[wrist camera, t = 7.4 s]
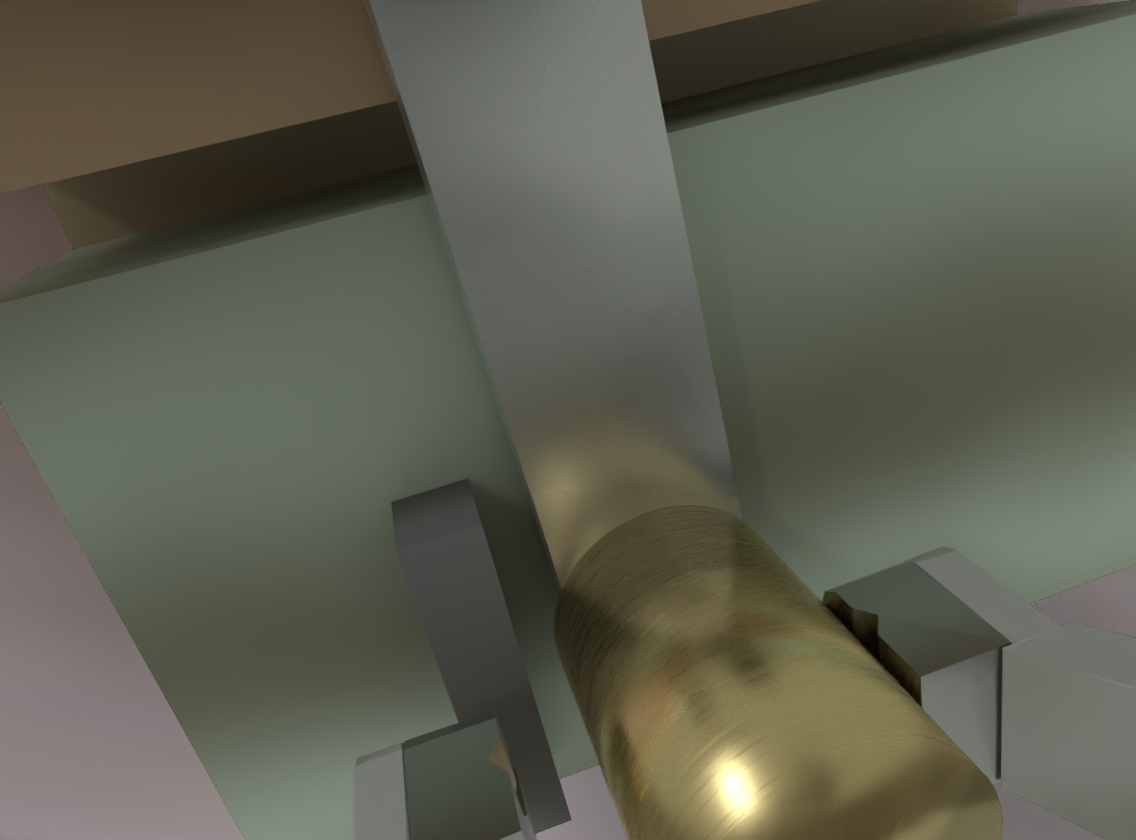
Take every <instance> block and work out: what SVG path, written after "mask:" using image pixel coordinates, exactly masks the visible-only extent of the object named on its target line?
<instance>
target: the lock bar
mask: <svg viewBox="0 0 1136 840" xmlns="http://www.w3.org/2000/svg"><path fill="white" fill-rule="evenodd" d="M364 4H365V7H366V10H367V13H368V16H369V19H370V22H371V25H372V28H373V31H374V34H375V37H376V40H377V43H378V46H379V49H380V52H381V55H382V58H383V61H384V64H385V67H386V70H387V73H388V76H389V79H390V82H391V85H392V88H393V91H394V95H395V98H396V101H397V104H398V107H399V110H400V113H401V116H402V119H403V122H404V125H405V128H406V131H407V134H408V137H409V140H410V143H411V146H412V149H413V152H414V155H415V158H416V161H417V164H418V167H419V170H420V173H421V176H422V179H423V182H424V185H425V189H426V192H427V195H428V198H429V201H430V204H431V207H432V210H433V213H434V216H435V219H436V222H437V225H438V228H439V231H440V234H441V237H442V240H443V243H444V246H445V249H446V252H447V255H448V258H449V261H450V264H451V267H452V270H453V273H454V276H455V280H456V283H457V286H458V289H459V292H460V295H461V298H462V301H463V304H464V307H465V310H466V313H467V316H468V319H469V322H470V325H471V328H472V331H473V334H474V337H475V340H476V343H477V346H478V349H479V352H480V355H481V358H482V361H483V364H484V367H485V371H486V374H487V377H488V380H489V383H490V386H491V389H492V392H493V395H494V398H495V401H496V404H497V407H498V410H499V413H500V416H501V419H502V422H503V425H504V428H505V431H506V434H507V437H508V440H509V443H510V446H511V449H512V452H513V455H514V458H515V461H516V465H517V468H518V471H519V474H520V477H521V480H522V483H523V486H524V489H525V492H526V495H527V498H528V501H529V504H530V507H531V510H532V513H533V516H534V519H535V522H536V525H537V528H538V531H539V534H540V537H541V540H542V543H543V546H544V549H545V552H546V556H547V559H548V562H549V565H550V568H551V571H552V574H553V577H554V580H555V583H556V586H557V589H558V592H559V595H560V596H559V599H558V601H557V606H556V610H555V615H554V639H555V645H556V649H557V653H558V656H559V658H560V661H561V664H562V666H563V669H564V672H565V674H566V677H567V680H568V682H569V685H570V688H571V690H572V693H573V695H574V698H575V701H576V703H577V706H578V709H579V711H580V714H581V717H582V719H583V722H584V725H585V727H586V730H587V733H588V735H589V738H590V741H591V743H592V746H593V749H594V751H595V754H596V757H597V759H598V762H599V765H600V767H601V770H602V772H603V775H604V778H605V780H606V783H607V786H608V788H609V791H610V794H611V796H612V799H613V802H614V804H615V807H616V810H617V812H618V815H619V818H620V820H621V823H622V826H623V828H624V831H625V834H626V836H627V839H628V840H1001V836H1002V812H1001V805H1000V802H999V799H998V796H997V793H996V790H995V788H994V787H993V785H992V783H991V782H990V780H989V778H988V777H987V776H986V775H985V774H984V773H983V772H982V771H981V770H980V769H979V768H978V767H977V766H976V764H975V763H974V762H973V761H972V760H971V759H970V758H969V757H968V756H967V755H966V754H965V753H964V752H963V751H962V750H961V749H960V747H959V746H958V745H957V744H956V743H955V742H954V741H953V740H952V739H951V738H950V737H949V736H948V735H947V734H946V733H945V732H944V730H943V729H942V728H941V727H940V726H939V725H938V724H937V723H936V722H935V721H934V720H933V719H932V718H931V717H930V716H929V715H928V714H927V712H926V711H925V710H924V709H923V708H922V707H921V706H920V705H919V704H918V703H917V702H916V701H915V700H914V699H913V698H912V697H911V695H910V694H909V693H908V692H907V691H906V690H905V689H904V688H903V687H902V686H901V685H900V684H899V683H898V682H897V681H896V680H895V678H894V677H893V676H892V675H891V674H890V673H889V672H888V671H887V670H886V669H885V668H884V667H883V666H882V665H881V664H880V663H879V661H878V660H877V659H876V658H875V657H874V656H873V655H872V654H871V653H870V652H869V651H868V650H867V649H866V648H865V647H864V646H863V644H862V643H861V642H860V641H859V640H858V639H857V638H856V637H855V636H854V635H853V634H852V633H851V632H850V631H849V630H848V629H847V628H846V626H845V625H844V624H843V623H842V622H841V621H840V620H839V619H838V618H837V617H836V616H835V615H834V614H833V613H832V612H831V611H830V609H829V608H828V607H827V606H826V605H825V604H824V603H823V602H822V601H821V600H820V599H819V598H818V597H817V596H816V595H815V594H814V592H813V591H812V590H811V589H810V588H809V587H808V586H807V585H806V584H805V583H804V582H803V581H802V580H801V579H800V578H799V577H798V575H797V574H796V573H795V572H794V571H793V570H792V569H791V568H790V567H789V566H788V565H787V564H786V563H785V562H784V561H783V560H782V558H781V557H780V556H779V555H778V554H777V553H776V552H775V551H774V550H773V549H772V548H771V547H770V546H769V545H768V544H767V543H766V541H765V540H764V539H763V538H762V537H761V536H760V535H759V534H758V533H757V532H756V531H755V530H754V529H753V528H752V527H751V526H750V525H749V524H747V523H746V522H745V521H743V519H742V514H741V508H740V503H739V498H738V493H737V488H736V483H735V478H734V473H733V468H732V463H731V457H730V452H729V447H728V442H727V437H726V432H725V427H724V422H723V417H722V412H721V406H720V401H719V396H718V391H717V386H716V381H715V376H714V371H713V366H712V361H711V356H710V350H709V345H708V340H707V335H706V330H705V325H704V320H703V315H702V310H701V305H700V299H699V294H698V289H697V284H696V279H695V274H694V269H693V264H692V259H691V254H690V248H689V243H688V238H687V233H686V228H685V223H684V218H683V213H682V208H681V203H680V197H679V192H678V187H677V182H676V177H675V172H674V167H673V162H672V157H671V152H670V146H669V141H668V136H667V131H666V126H665V121H664V116H663V111H662V106H661V101H660V96H659V90H658V85H657V80H656V75H655V70H654V65H653V60H652V55H651V50H650V45H649V39H648V34H647V29H646V24H645V19H644V14H643V9H642V4H641V0H364Z"/></svg>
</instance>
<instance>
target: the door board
mask: <svg viewBox="0 0 1136 840" xmlns="http://www.w3.org/2000/svg"><path fill="white" fill-rule="evenodd" d="M641 4H642V9H643V14H644V19H645V24H646V29H647V34H648V39H649V45H650V50H651V55H652V60H653V65H654V70H655V75H656V80H657V85H658V90H659V96H660V101H661V106H662V111H663V116H664V121H665V126H666V131H667V136H668V141H669V146H670V152H671V157H672V162H673V167H674V172H675V177H676V182H677V187H678V192H679V197H680V203H681V208H682V213H683V218H684V223H685V228H686V233H687V238H688V243H689V248H690V254H691V259H692V264H693V269H694V274H695V279H696V284H697V289H698V294H699V299H700V305H701V310H702V315H703V320H704V325H705V330H706V335H707V340H708V345H709V350H710V356H711V361H712V366H713V371H714V376H715V381H716V386H717V391H718V396H719V401H720V406H721V412H722V417H723V422H724V427H725V432H726V437H727V442H728V447H729V452H730V457H731V463H732V468H733V473H734V478H735V483H736V488H737V493H738V498H739V503H740V508H741V514H742V519H743V521H745V522H746V523H747V524H749V525H750V526H751V527H752V528H753V529H754V530H755V531H756V532H757V533H758V534H759V535H760V536H761V537H762V538H763V539H764V540H765V541H766V543H767V544H768V545H769V546H770V547H771V548H772V549H773V550H774V551H775V552H776V553H777V554H778V555H779V556H780V557H781V558H782V560H783V561H784V562H785V563H786V564H787V565H788V566H789V567H790V568H791V569H792V570H793V571H794V572H795V573H796V574H797V575H798V577H799V578H800V579H801V580H802V581H803V582H804V583H805V584H806V585H807V586H808V587H809V588H810V589H811V590H812V591H813V592H814V594H815V595H816V596H817V597H818V598H819V599H820V600H821V601H822V600H823V596H824V592H825V591H827V590H829V589H832V588H835V587H837V586H840V585H843V584H845V583H848V582H851V581H854V580H856V579H859V578H862V577H864V576H867V575H870V574H872V573H875V572H878V571H881V570H883V569H886V568H889V567H891V566H894V565H897V564H901V563H903V562H904V561H906V560H908V559H911V558H913V557H916V556H919V555H921V554H924V553H927V552H929V551H932V550H934V549H937V548H940V547H942V546H944V547H948V548H952V549H955V550H956V551H958V552H959V553H960V554H962V555H963V556H965V557H966V558H967V559H969V560H970V561H971V562H973V563H974V564H976V565H977V566H978V567H980V568H981V569H982V570H984V571H985V572H986V573H988V574H989V575H991V576H992V577H993V578H995V579H996V580H997V581H999V582H1000V583H1002V584H1003V585H1004V586H1006V587H1007V588H1008V589H1010V590H1011V591H1013V592H1014V593H1015V594H1017V595H1018V596H1019V597H1021V598H1022V599H1023V600H1025V601H1026V602H1028V603H1029V604H1031V603H1033V602H1036V601H1039V600H1041V599H1044V598H1047V597H1049V596H1052V595H1055V594H1057V593H1060V592H1063V591H1066V590H1068V589H1071V588H1074V587H1076V586H1079V585H1082V584H1084V583H1087V582H1090V581H1092V580H1095V579H1098V578H1100V577H1103V576H1106V575H1108V574H1111V573H1114V572H1117V571H1119V570H1122V569H1125V568H1127V567H1130V566H1133V565H1135V564H1136V0H1129V1H1121V2H1113V3H1105V4H1097V5H1090V6H1082V7H1074V8H1066V9H1058V10H1050V11H1042V12H1034V13H1026V14H1018V15H1017V0H641ZM42 184H43V186H44V188H45V190H46V192H47V194H48V197H49V199H50V201H51V203H52V205H53V207H54V209H55V211H56V213H57V216H58V218H59V220H60V222H61V224H62V226H63V228H64V230H65V232H66V234H67V237H68V239H69V241H70V243H71V245H72V247H73V249H74V250H72V251H70V252H68V253H66V254H65V255H63V256H61V257H59V258H57V259H55V260H54V261H52V262H50V263H48V264H46V265H44V266H43V267H41V268H39V269H37V270H35V271H33V272H32V273H30V274H28V275H26V276H24V277H22V278H21V279H19V280H17V281H15V282H13V283H11V284H10V285H8V286H6V287H4V288H2V289H0V403H1V405H2V407H3V408H4V410H5V412H6V414H7V416H8V417H9V419H10V421H11V423H12V425H13V426H14V428H15V430H16V432H17V433H18V435H19V437H20V439H21V441H22V442H23V444H24V446H25V448H26V450H27V451H28V453H29V455H30V457H31V458H32V460H33V462H34V464H35V466H36V467H37V469H38V471H39V473H40V475H41V476H42V478H43V480H44V482H45V483H46V485H47V487H48V489H49V491H50V492H51V494H52V496H53V498H54V500H55V501H56V503H57V505H58V507H59V508H60V510H61V512H62V514H63V516H64V517H65V519H66V521H67V523H68V525H69V526H70V528H71V530H72V532H73V533H74V535H75V537H76V539H77V541H78V542H79V544H80V546H81V548H82V550H83V551H84V553H85V555H86V557H87V558H88V560H89V562H90V564H91V566H92V567H93V569H94V571H95V573H96V575H97V576H98V578H99V580H100V582H101V583H102V585H103V587H104V589H105V591H106V592H107V594H108V596H109V598H110V600H111V601H112V603H113V605H114V607H115V608H116V610H117V612H118V614H119V616H120V617H121V619H122V621H123V623H124V625H125V626H126V628H127V630H128V632H129V633H130V635H131V637H132V639H133V641H134V642H135V644H136V646H137V648H138V650H139V651H140V653H141V655H142V657H143V658H144V660H145V662H146V664H147V666H148V667H149V669H150V671H151V673H152V675H153V676H154V678H155V680H156V682H157V683H158V685H159V687H160V689H161V691H162V692H163V694H164V696H165V698H166V700H167V701H168V703H169V705H170V707H171V708H172V710H173V712H174V714H175V716H176V717H177V719H178V721H179V723H180V725H181V726H182V728H183V730H184V732H185V733H186V735H187V737H188V739H189V741H190V742H191V744H192V746H193V748H194V750H195V751H196V753H197V755H198V757H199V758H200V760H201V762H202V764H203V766H204V767H205V769H206V771H207V773H208V775H209V776H210V778H211V780H212V782H213V783H214V785H215V787H216V789H217V791H218V792H219V794H220V796H221V798H222V800H223V801H224V803H225V805H226V807H227V808H228V810H229V812H230V814H231V816H232V817H233V819H234V821H235V823H236V825H237V826H238V828H239V830H240V832H241V833H242V835H243V837H244V839H245V840H353V769H354V766H355V763H356V760H357V758H358V757H361V756H364V755H367V754H370V753H373V752H376V751H379V750H382V749H385V748H388V747H391V746H394V745H397V744H400V743H404V742H405V741H406V740H409V739H412V738H415V737H417V736H420V735H423V734H426V733H429V732H432V731H435V730H438V729H441V728H444V727H447V726H450V725H453V724H456V723H459V722H462V721H465V720H468V719H471V718H474V717H477V716H480V715H483V714H486V713H489V712H492V711H495V712H496V714H497V717H498V720H499V722H500V725H501V728H502V730H503V733H504V736H505V739H506V743H507V747H508V751H509V755H510V759H511V763H512V766H514V767H515V768H516V771H517V774H518V777H519V780H520V783H521V786H522V789H523V792H524V795H525V799H526V802H527V805H528V809H529V812H530V816H531V819H532V823H533V826H534V830H535V833H538V832H541V831H544V830H546V829H549V828H551V827H554V826H557V825H559V824H562V823H565V822H567V821H570V820H571V817H570V814H569V810H568V807H567V804H566V800H565V797H564V794H563V790H562V787H561V784H560V781H559V779H561V778H564V777H566V776H569V775H572V774H574V773H577V772H580V771H582V770H585V769H588V768H591V767H593V766H596V765H599V762H598V759H597V757H596V754H595V751H594V749H593V746H592V743H591V741H590V738H589V735H588V733H587V730H586V727H585V725H584V722H583V719H582V717H581V714H580V711H579V709H578V706H577V703H576V701H575V698H574V695H573V693H572V690H571V688H570V685H569V682H568V680H567V677H566V674H565V672H564V669H563V666H562V664H561V661H560V658H559V656H558V653H557V649H556V645H555V639H554V615H555V610H556V606H557V601H558V599H559V596H560V595H559V592H558V589H557V586H556V583H555V580H554V577H553V574H552V571H551V568H550V565H549V562H548V559H547V556H546V552H545V549H544V546H543V543H542V540H541V537H540V534H539V531H538V528H537V525H536V522H535V519H534V516H533V513H532V510H531V507H530V504H529V501H528V498H527V495H526V492H525V489H524V486H523V483H522V480H521V477H520V474H519V471H518V468H517V465H516V461H515V458H514V455H513V452H512V449H511V446H510V443H509V440H508V437H507V434H506V431H505V428H504V425H503V422H502V419H501V416H500V413H499V410H498V407H497V404H496V401H495V398H494V395H493V392H492V389H491V386H490V383H489V380H488V377H487V374H486V371H485V367H484V364H483V361H482V358H481V355H480V352H479V349H478V346H477V343H476V340H475V337H474V334H473V331H472V328H471V325H470V322H469V319H468V316H467V313H466V310H465V307H464V304H463V301H462V298H461V295H460V292H459V289H458V286H457V283H456V280H455V276H454V273H453V270H452V267H451V264H450V261H449V258H448V255H447V252H446V249H445V246H444V243H443V240H442V237H441V234H440V231H439V228H438V225H437V222H436V219H435V216H434V213H433V210H432V207H431V204H430V201H429V198H428V195H427V192H426V189H425V185H424V182H423V179H422V176H421V173H420V170H419V167H418V164H417V161H416V158H415V155H414V152H413V149H412V146H411V143H410V140H409V137H408V134H407V131H406V128H405V125H404V122H403V119H402V116H401V113H400V110H399V107H398V104H397V101H396V98H395V95H394V91H393V88H392V85H391V82H390V79H389V76H388V73H387V70H386V67H385V64H384V61H383V58H382V55H381V52H380V49H379V46H378V43H377V40H376V37H375V34H374V31H373V28H372V25H371V22H370V19H369V16H368V13H367V10H366V7H365V4H364V0H0V194H4V193H8V192H12V191H17V190H21V189H25V188H29V187H34V186H38V185H42Z"/></svg>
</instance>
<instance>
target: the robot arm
mask: <svg viewBox="0 0 1136 840" xmlns="http://www.w3.org/2000/svg"><path fill="white" fill-rule="evenodd" d="M822 602H823V603H824V604H825V605H826V606H827V607H828V608H829V609H830V611H831V612H832V613H833V614H834V615H835V616H836V617H837V618H838V619H839V620H840V621H841V622H842V623H843V624H844V625H845V626H846V628H847V629H848V630H849V631H850V632H851V633H852V634H853V635H854V636H855V637H856V638H857V639H858V640H859V641H860V642H861V643H862V644H863V646H864V647H865V648H866V649H867V650H868V651H869V652H870V653H871V654H872V655H873V656H874V657H875V658H876V659H877V660H878V661H879V663H880V664H881V665H882V666H883V667H884V668H885V669H886V670H887V671H888V672H889V673H890V674H891V675H892V676H893V677H894V678H895V680H896V681H897V682H898V683H899V684H900V685H901V686H902V687H903V688H904V689H905V690H906V691H907V692H908V693H909V694H910V695H911V697H912V698H913V699H914V700H915V701H916V702H917V703H918V704H919V705H920V706H921V707H922V708H923V709H924V710H925V711H926V712H927V714H928V715H929V716H930V717H931V718H932V719H933V720H934V721H935V722H936V723H937V724H938V725H939V726H940V727H941V728H942V729H943V730H944V732H945V733H946V734H947V735H948V736H949V737H950V738H951V739H952V740H953V741H954V742H955V743H956V744H957V745H958V746H959V747H960V749H961V750H962V751H963V752H964V753H965V754H966V755H967V756H968V757H969V758H970V759H971V760H972V761H973V762H974V763H975V764H976V766H977V767H978V768H979V769H980V770H981V771H982V772H983V773H984V774H985V775H986V776H987V777H988V778H989V780H990V782H991V783H992V785H993V784H996V783H999V782H1001V787H1003V788H1005V789H1007V790H1009V791H1011V792H1013V793H1015V794H1017V795H1019V796H1021V797H1023V798H1025V799H1027V800H1029V801H1031V802H1033V803H1035V804H1037V805H1039V806H1041V807H1043V808H1045V809H1047V810H1049V811H1051V812H1053V813H1055V814H1057V815H1059V816H1061V817H1063V818H1065V819H1067V820H1069V821H1071V822H1073V823H1075V824H1077V825H1079V826H1081V827H1082V828H1084V829H1086V830H1088V831H1090V832H1092V833H1094V834H1096V835H1098V836H1100V837H1102V838H1104V839H1106V840H1136V637H1132V636H1128V635H1124V634H1120V633H1116V632H1112V631H1108V630H1104V629H1100V628H1096V627H1092V626H1088V625H1084V624H1080V623H1076V622H1070V623H1067V624H1064V625H1062V626H1059V625H1058V624H1056V623H1055V622H1054V621H1052V620H1051V619H1049V618H1048V617H1047V616H1045V615H1044V614H1043V613H1041V612H1040V611H1039V610H1037V609H1036V608H1034V607H1033V606H1032V605H1030V604H1029V603H1028V602H1026V601H1025V600H1023V599H1022V598H1021V597H1019V596H1018V595H1017V594H1015V593H1014V592H1013V591H1011V590H1010V589H1008V588H1007V587H1006V586H1004V585H1003V584H1002V583H1000V582H999V581H997V580H996V579H995V578H993V577H992V576H991V575H989V574H988V573H986V572H985V571H984V570H982V569H981V568H980V567H978V566H977V565H976V564H974V563H973V562H971V561H970V560H969V559H967V558H966V557H965V556H963V555H962V554H960V553H959V552H958V551H956V550H955V549H952V548H948V547H944V546H942V547H940V548H937V549H934V550H932V551H929V552H927V553H924V554H921V555H919V556H916V557H913V558H911V559H908V560H906V561H904V562H903V563H901V564H897V565H894V566H891V567H889V568H886V569H883V570H881V571H878V572H875V573H872V574H870V575H867V576H864V577H862V578H859V579H856V580H854V581H851V582H848V583H845V584H843V585H840V586H837V587H835V588H832V589H829V590H827V591H825V592H824V596H823V600H822ZM353 840H537V837H536V833H535V830H534V826H533V823H532V819H531V816H530V812H529V809H528V805H527V802H526V799H525V795H524V792H523V789H522V786H521V783H520V780H519V777H518V774H517V771H516V768H515V767H514V766H512V763H511V759H510V755H509V751H508V747H507V743H506V739H505V736H504V733H503V730H502V728H501V725H500V722H499V720H498V717H497V714H496V712H495V711H492V712H489V713H486V714H483V715H480V716H477V717H474V718H471V719H468V720H465V721H462V722H459V723H456V724H453V725H450V726H447V727H444V728H441V729H438V730H435V731H432V732H429V733H426V734H423V735H420V736H417V737H415V738H412V739H409V740H406V741H405V742H404V743H400V744H397V745H394V746H391V747H388V748H385V749H382V750H379V751H376V752H373V753H370V754H367V755H364V756H361V757H358V758H357V760H356V763H355V766H354V769H353Z"/></svg>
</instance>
